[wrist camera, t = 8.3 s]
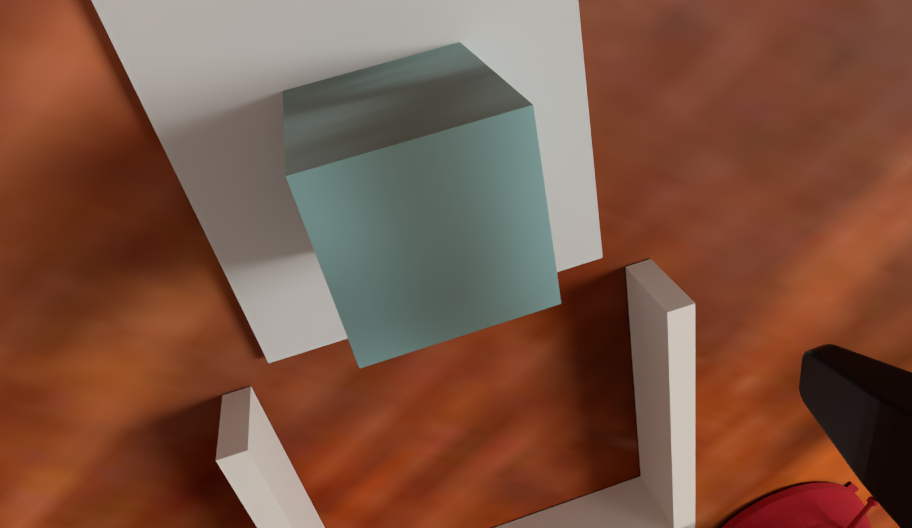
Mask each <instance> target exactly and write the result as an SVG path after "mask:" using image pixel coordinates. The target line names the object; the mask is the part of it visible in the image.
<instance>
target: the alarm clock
mask: <svg viewBox="0 0 912 528" xmlns="http://www.w3.org/2000/svg"><path fill="white" fill-rule="evenodd" d="M857 490H858V488H857V487H856V486H855V485H854V484H853V483H852V482H851V484H850V485H849V486H847V487H845V486H843V485H840V484H835V483H809V484H804V485H799V486H795V487H792V488H789V489H786V490H783V491H780V492H778V493H775V494H772V495H770V496H768V497H766V498H764V499H762V500H760V501H758V502H757V503H755V504H753V505H751V506H750V507H748V508H746V509H745V510H743V511H741V512H740V513H739V514H737V515H736V516H735V517H733V518H732V519H731V520H729V521H728V522H727V523H726V524H725V525H724V526H722V527H721V528H872V527H871V525H870V523H869V520H868V518H867V515H866V514H867V512H868V511H869V509H870V508H871V507H872V506H877V505H878V502H877V500H876V499H875V498H874V497H869V498H868V499H867V502H868V503H867V504H866V506H865V507H864V505H863V503H862V501H861V500H860V499H859V497H858V496H857V495H856V494H855V493H854V492H856V491H857Z"/></svg>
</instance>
